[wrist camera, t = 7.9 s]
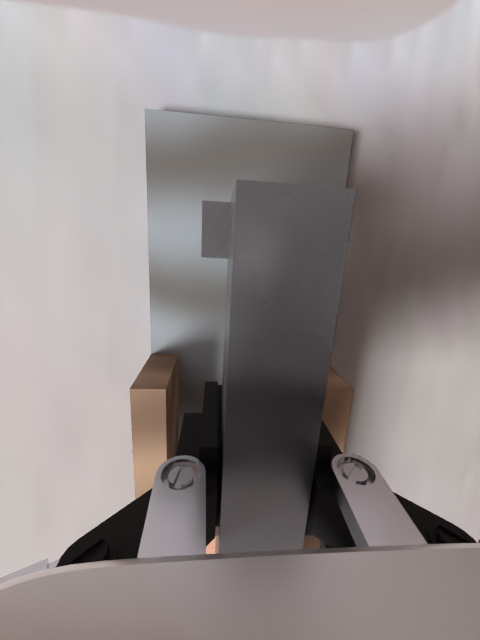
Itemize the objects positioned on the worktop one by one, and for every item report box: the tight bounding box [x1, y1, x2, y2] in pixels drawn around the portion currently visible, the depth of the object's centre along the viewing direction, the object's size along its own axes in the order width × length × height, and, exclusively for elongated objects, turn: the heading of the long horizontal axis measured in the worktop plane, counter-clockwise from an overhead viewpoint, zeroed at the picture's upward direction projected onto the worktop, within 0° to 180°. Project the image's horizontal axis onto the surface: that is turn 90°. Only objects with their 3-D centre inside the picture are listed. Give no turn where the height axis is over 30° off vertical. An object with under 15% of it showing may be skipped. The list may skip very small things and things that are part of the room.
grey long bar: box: [201, 179, 356, 554], centre depth 12 cm, size 22×5×8 cm, turn 177°
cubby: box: [130, 109, 354, 549], centre depth 15 cm, size 30×10×5 cm, turn 177°
